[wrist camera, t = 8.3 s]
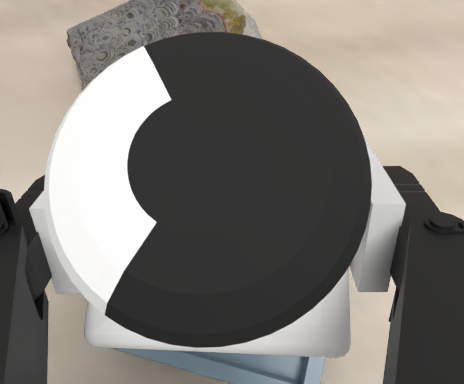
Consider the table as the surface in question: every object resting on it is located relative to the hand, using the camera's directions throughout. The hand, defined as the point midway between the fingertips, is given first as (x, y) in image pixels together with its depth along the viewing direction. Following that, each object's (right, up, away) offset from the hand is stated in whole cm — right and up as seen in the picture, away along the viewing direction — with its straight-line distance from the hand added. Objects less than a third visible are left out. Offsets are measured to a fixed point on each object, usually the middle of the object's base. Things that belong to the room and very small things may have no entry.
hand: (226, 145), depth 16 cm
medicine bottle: (0, -4, +3) cm, 5 cm away
